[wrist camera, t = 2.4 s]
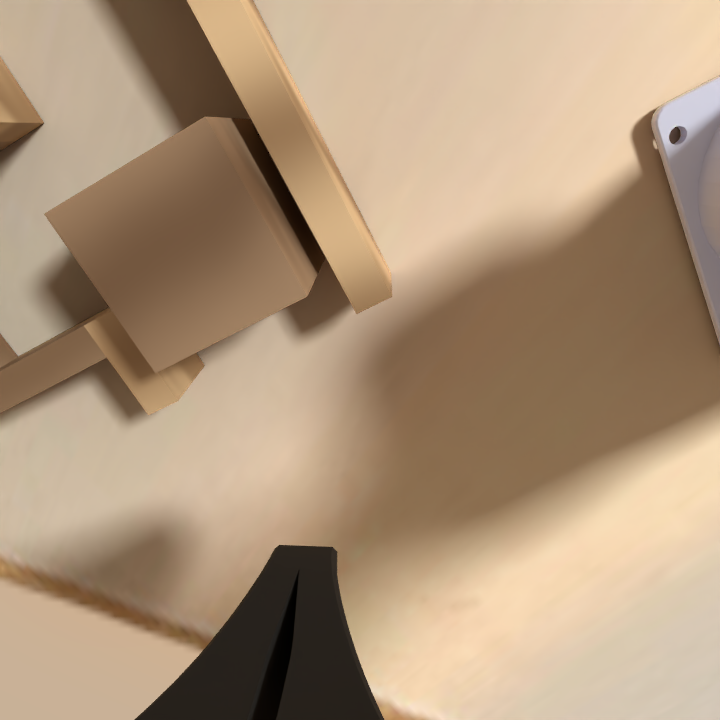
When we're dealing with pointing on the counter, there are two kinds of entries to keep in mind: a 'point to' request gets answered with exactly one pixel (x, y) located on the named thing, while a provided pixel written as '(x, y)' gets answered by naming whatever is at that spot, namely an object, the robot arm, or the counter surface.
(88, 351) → the trap lane
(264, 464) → the counter surface
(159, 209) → the walnut block
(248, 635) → the robot arm
